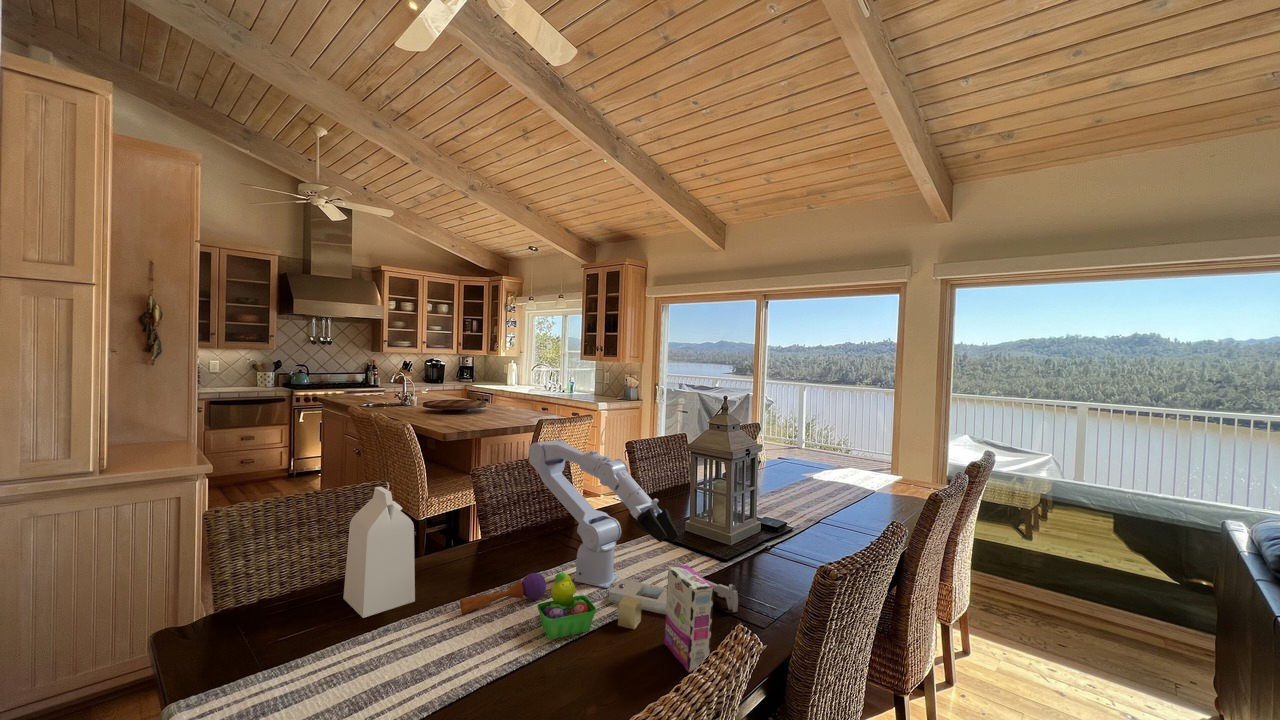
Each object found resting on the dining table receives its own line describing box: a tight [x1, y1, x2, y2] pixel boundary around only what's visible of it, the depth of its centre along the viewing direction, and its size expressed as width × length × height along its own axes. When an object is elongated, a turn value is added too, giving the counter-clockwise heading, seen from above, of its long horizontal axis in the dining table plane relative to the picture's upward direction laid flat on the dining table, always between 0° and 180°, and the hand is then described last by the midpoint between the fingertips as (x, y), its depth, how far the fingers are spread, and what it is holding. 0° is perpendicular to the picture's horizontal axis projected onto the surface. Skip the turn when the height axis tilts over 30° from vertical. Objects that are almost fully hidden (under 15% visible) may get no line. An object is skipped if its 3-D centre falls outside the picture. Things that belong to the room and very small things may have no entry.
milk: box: [343, 486, 416, 619], centre depth 125 cm, size 12×12×26 cm
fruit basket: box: [537, 571, 598, 640], centre depth 117 cm, size 11×9×11 cm
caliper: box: [705, 579, 739, 613], centre depth 136 cm, size 20×1×6 cm, turn 27°
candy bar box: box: [664, 564, 715, 673], centre depth 109 cm, size 11×5×16 cm, turn 23°
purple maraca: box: [459, 572, 547, 615], centre depth 127 cm, size 6×6×20 cm
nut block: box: [617, 596, 642, 630], centre depth 120 cm, size 4×4×5 cm
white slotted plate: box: [608, 578, 667, 616], centre depth 130 cm, size 18×8×3 cm, turn 70°
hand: (669, 538), depth 127 cm, fingers open, 7 cm apart
